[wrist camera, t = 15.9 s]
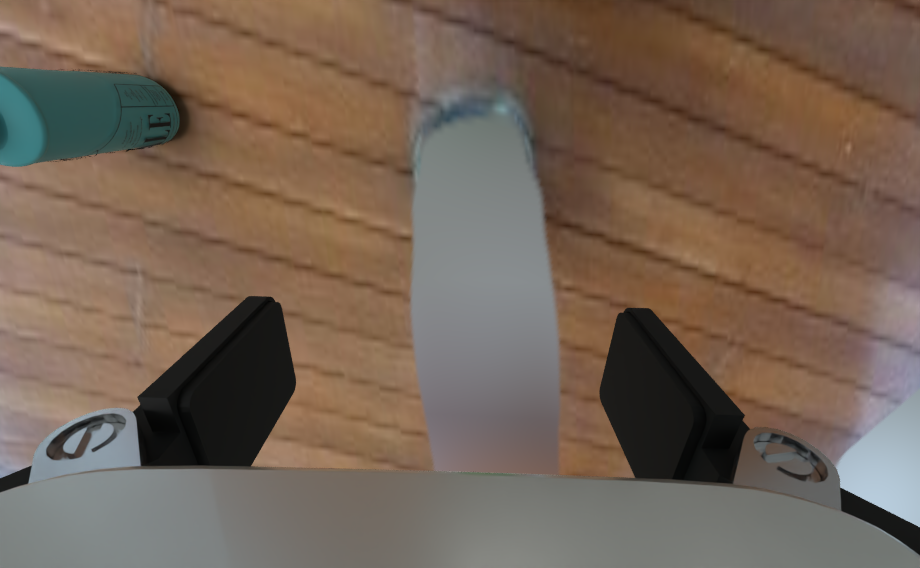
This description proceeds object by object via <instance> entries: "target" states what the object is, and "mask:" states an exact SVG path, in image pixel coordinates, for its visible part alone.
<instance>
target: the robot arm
mask: <svg viewBox="0 0 920 568" xmlns="http://www.w3.org/2000/svg"><path fill="white" fill-rule="evenodd" d="M295 386H296V378H295V373H294V368H293V362H292V357H291V352H290V347H289V342H288V337H287V332H286V327H285V322H284V317H283V312H282V307H281V305H280V303H279V302H275V300H274V299H273V298H272V297H260V296H249V297H247V298H246V299H245V300H244V301H243V302H241V303H240V304H239V305H238V306H237V307H236V308H235V309H234V310H233V311H232V312H230V313H229V314H228V315H227V316H226V317H225V318H224V319H223V320H222V321H221V322H219V323H218V324H217V325H216V326H215V327H214V328H213V329H212V330H211V331H210V332H209V333H207V334H206V335H205V336H204V337H203V338H202V339H201V340H200V341H199V342H198V343H196V344H195V345H194V346H193V347H192V348H191V349H190V350H189V351H188V352H187V353H185V354H184V355H183V356H182V357H181V358H180V359H179V360H178V361H177V362H176V363H174V364H173V365H172V366H171V367H170V368H169V369H168V370H167V371H166V372H165V373H163V374H162V375H161V376H160V377H159V378H158V379H157V380H156V381H155V382H154V383H152V384H151V385H150V386H149V387H148V388H147V389H146V390H145V391H144V392H143V393H142V394H140V395H139V396H138V397H137V398H138V400H139V402H140V404H141V405H140V406H139V407H138V408H137V409H136V410H135V411H134V412H132V411H130V410H128V409H123V408H110V409H103V410H99V411H95V412H92V413H88V414H86V415H83V416H81V417H79V418H76V419H74V420H72V421H70V422H68V423H66V424H65V425H63V426H61V427H59V428H58V429H57V430H55V431H54V432H53V433H51V434H50V435H48V436H47V437H46V438H45V439H44V440H43V441H42V443H41V444H40V445H39V446H38V448H37V450H36V452H35V454H34V457H33V462H32V466H29V467H27V468H25V469H22V470H20V471H17V472H15V473H12V474H10V475H8V476H5V477H3V478H0V568H920V527H918V526H916V525H914V524H912V523H910V522H908V521H906V520H904V519H902V518H900V517H898V516H896V515H894V514H892V513H890V512H888V511H886V510H884V509H882V508H880V507H878V506H876V505H874V504H872V503H870V502H868V501H866V500H864V499H862V498H860V497H858V496H856V495H854V494H852V493H850V492H848V491H846V490H844V489H842V488H840V478H839V475H838V472H837V469H836V468H835V466H834V465H833V464H832V462H831V461H830V460H829V459H828V458H827V457H826V456H825V455H824V454H823V453H822V452H821V451H819V450H818V449H817V448H815V447H814V446H812V445H811V444H809V443H808V442H806V441H805V440H803V439H801V438H799V437H796V436H794V435H792V434H790V433H787V432H784V431H781V430H778V429H774V428H768V427H755V428H753V429H749V427H748V426H747V425H746V424H745V423H744V422H743V421H742V420H743V418H744V416H745V415H744V414H743V413H742V412H741V410H740V409H739V408H738V407H737V406H736V405H735V404H734V403H733V401H732V400H731V399H730V398H729V397H728V396H727V395H726V394H725V392H724V391H723V390H722V389H721V388H720V387H719V386H718V385H717V383H716V382H715V381H714V380H713V379H712V378H711V377H710V376H709V374H708V373H707V372H706V371H705V370H704V369H703V368H702V367H701V365H700V364H699V363H698V362H697V361H696V360H695V359H694V358H693V356H692V355H691V354H690V353H689V352H688V351H687V350H686V349H685V347H684V346H683V345H682V344H681V343H680V342H679V341H678V340H677V338H676V337H675V336H674V335H673V334H672V333H671V332H670V331H669V329H668V328H667V327H666V326H665V325H664V324H663V323H662V322H661V320H660V319H659V318H658V317H657V316H656V315H655V314H654V313H653V311H652V310H650V309H649V308H627V309H625V311H624V313H619V314H618V316H617V319H616V323H615V328H614V332H613V336H612V340H611V344H610V348H609V353H608V357H607V361H606V365H605V369H604V373H603V378H602V382H601V386H600V400H601V403H602V405H603V407H604V409H605V412H606V414H607V416H608V418H609V420H610V423H611V425H612V427H613V429H614V431H615V434H616V436H617V438H618V440H619V443H620V445H621V447H622V449H623V451H624V454H625V456H626V458H627V460H628V462H629V465H630V467H631V469H632V471H633V473H634V476H635V478H624V477H598V476H569V475H539V474H511V473H479V472H447V471H412V470H376V469H336V468H293V467H251V465H252V463H253V462H254V460H255V458H256V456H257V455H258V453H259V451H260V450H261V448H262V446H263V444H264V443H265V441H266V439H267V438H268V436H269V434H270V432H271V431H272V429H273V427H274V426H275V424H276V422H277V420H278V419H279V417H280V415H281V414H282V412H283V410H284V408H285V407H286V405H287V403H288V402H289V400H290V398H291V396H292V395H293V393H294V390H295Z"/></svg>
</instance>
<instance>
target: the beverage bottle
mask: <svg viewBox="0 0 920 568" xmlns="http://www.w3.org/2000/svg"><path fill="white" fill-rule="evenodd" d="M61 70H63V69H61ZM78 70H79V69H78ZM80 71H81V70H80ZM80 71H74V70H73V71H56V70H41V69H26V68H12V67H0V165H5V166H13V167H20V166H27V165H31V164H33V163H39V162H45V161H50V162H60V161H51V160H58V159H61V160H62V161H65V160H64V159H67V158H70V159H67V160H69V161H70V160H71V158H74V157H76V158H77V157H81V156H84V157H85V156H88V155H94V154H96V155H97V154H100V153H107V152H110V153H111V152H112V153H115V152H113V151H119V150H126V149H128V150H135V149H132V148H137V149H144V148H145V147H148V148H150V146H151V147H152V146H154V145H158V144H159V145H160V144H162V145H163V143H166V142H168V141H169V140H170V139H172V138H173V137H174V136H175V135H176V133H177V131H178V128H179V123H180V119H179V112H178V109H177V106H176V104H175V102H174V100H173V99H172V97H171V96H170V95H169V93H168V92H167V91H166V90H165V89H164V88H163V87H162V86H160V85H159V84H157V83H156V82H154V81H152V80H150V79H148V78H146V77H143V76H139V75H129V74H123V73H122V74H113V71H112V73H111V71H109V73H107V72H106V71H104V72H106V73H104V72H103V73H99V71H98V73H96V71H97V70H94V71H95V72H80ZM89 71H92V70H89ZM116 73H117V72H116ZM119 73H121V72H119ZM124 73H125V72H124ZM126 73H128V72H126ZM134 74H137V73H134ZM139 147H140V148H139ZM156 147H157V146H156ZM128 150H127V151H128ZM96 155H95V156H96ZM89 157H91V156H89ZM81 158H82V157H81ZM78 159H80V158H78ZM72 160H73V159H72ZM74 160H75V159H74Z"/></svg>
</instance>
